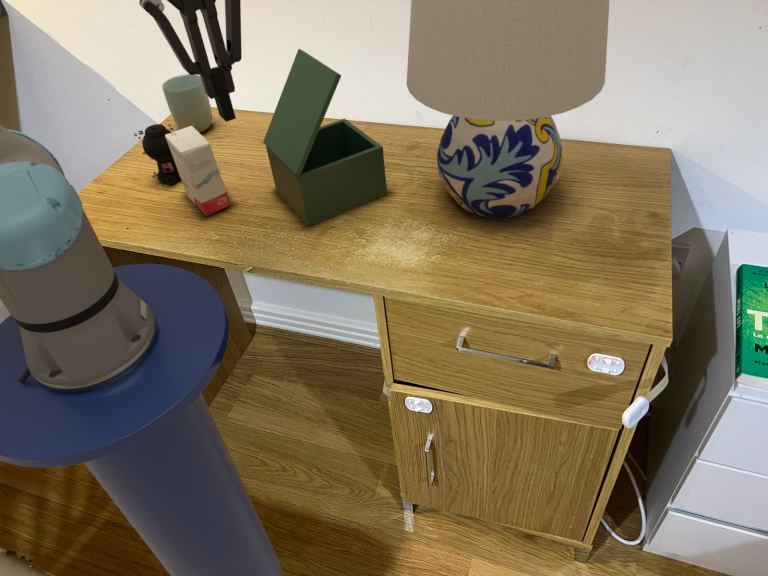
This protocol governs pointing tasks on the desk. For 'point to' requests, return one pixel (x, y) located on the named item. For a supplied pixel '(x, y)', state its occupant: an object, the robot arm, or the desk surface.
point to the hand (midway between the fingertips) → (227, 116)
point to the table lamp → (504, 90)
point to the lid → (301, 110)
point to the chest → (333, 173)
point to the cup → (188, 102)
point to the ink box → (198, 170)
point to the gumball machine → (160, 152)
